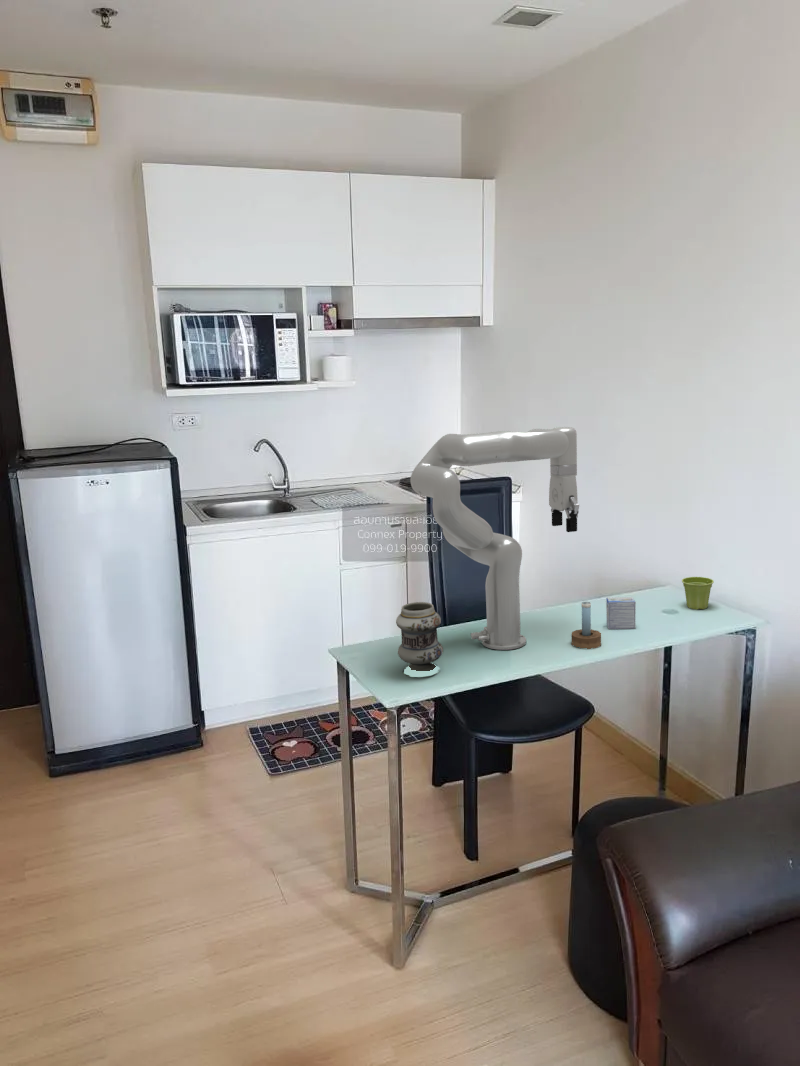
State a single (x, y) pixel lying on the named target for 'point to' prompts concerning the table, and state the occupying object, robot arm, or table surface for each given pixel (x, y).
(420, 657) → the apothecary jar
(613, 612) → the medicine box
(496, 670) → the table surface
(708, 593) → the plant pot
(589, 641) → the bead
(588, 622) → the blue grey cylinder
